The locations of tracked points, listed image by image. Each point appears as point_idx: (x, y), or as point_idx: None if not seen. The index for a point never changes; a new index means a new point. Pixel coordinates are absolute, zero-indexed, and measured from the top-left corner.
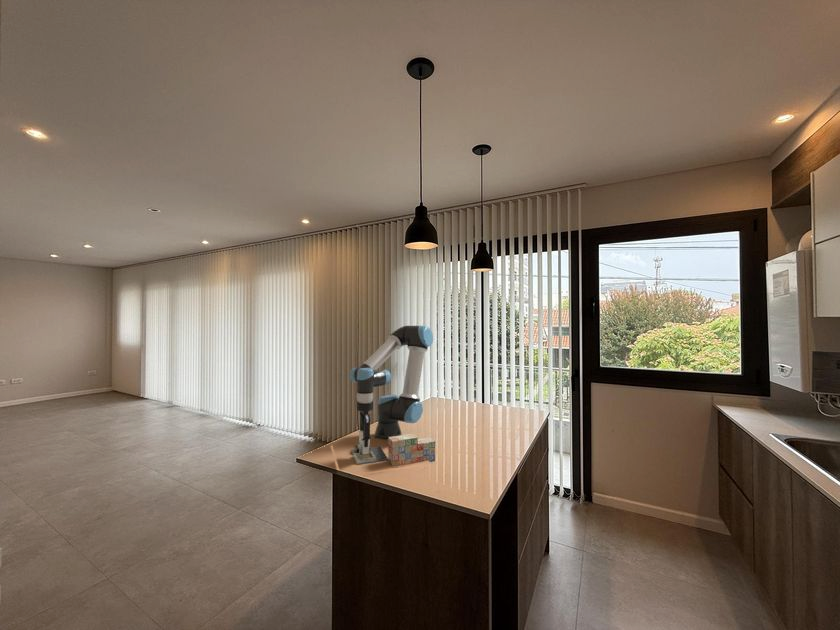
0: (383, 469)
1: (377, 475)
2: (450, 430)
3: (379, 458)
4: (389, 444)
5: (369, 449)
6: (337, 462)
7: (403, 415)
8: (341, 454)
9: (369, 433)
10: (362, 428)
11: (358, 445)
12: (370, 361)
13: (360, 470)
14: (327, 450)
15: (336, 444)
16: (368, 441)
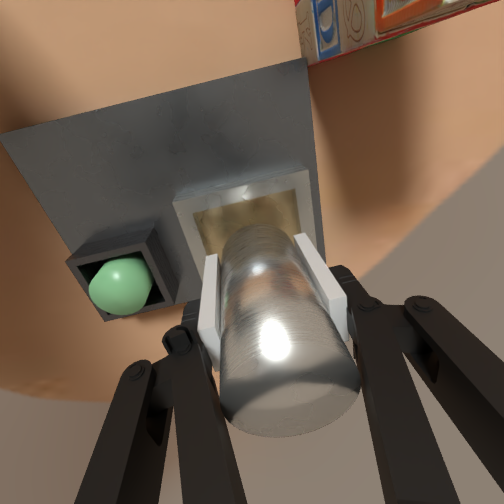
0: (394, 111)
1: (455, 151)
2: None
3: (254, 140)
4: (426, 17)
5: (275, 236)
6: None
7: None
8: (153, 344)
9: (488, 353)
10: (227, 440)
11: (140, 307)
12: None
13: (362, 243)
14: (107, 397)
15: (14, 383)
16: (336, 284)
